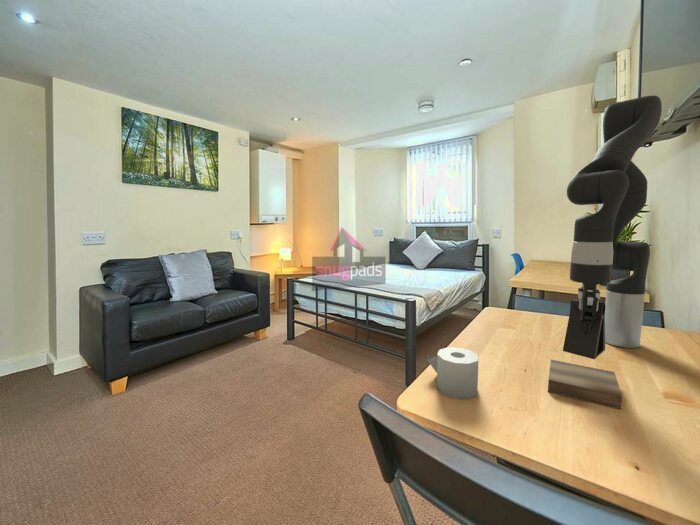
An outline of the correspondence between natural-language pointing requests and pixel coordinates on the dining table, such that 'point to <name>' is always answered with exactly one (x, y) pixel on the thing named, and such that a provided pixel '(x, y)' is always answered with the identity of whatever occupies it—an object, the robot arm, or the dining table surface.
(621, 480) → the dining table surface
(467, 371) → the toilet tissue
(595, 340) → the phone stand
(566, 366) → the walnut block
